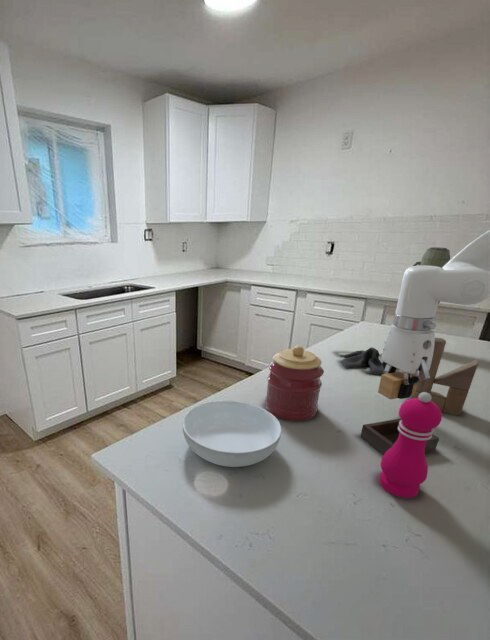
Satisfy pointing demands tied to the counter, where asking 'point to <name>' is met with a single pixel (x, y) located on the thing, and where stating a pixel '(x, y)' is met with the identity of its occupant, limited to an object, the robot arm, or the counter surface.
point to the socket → (389, 436)
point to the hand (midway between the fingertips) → (396, 392)
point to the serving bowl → (231, 432)
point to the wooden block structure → (447, 382)
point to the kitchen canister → (294, 384)
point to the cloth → (364, 361)
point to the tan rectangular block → (393, 384)
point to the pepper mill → (410, 447)
